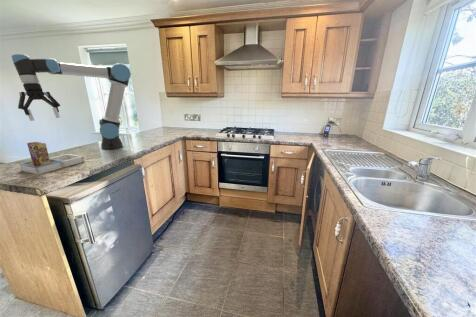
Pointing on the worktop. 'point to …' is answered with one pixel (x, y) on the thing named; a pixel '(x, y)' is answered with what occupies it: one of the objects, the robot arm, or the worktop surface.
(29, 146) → the candy box
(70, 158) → the organizer
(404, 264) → the worktop surface
